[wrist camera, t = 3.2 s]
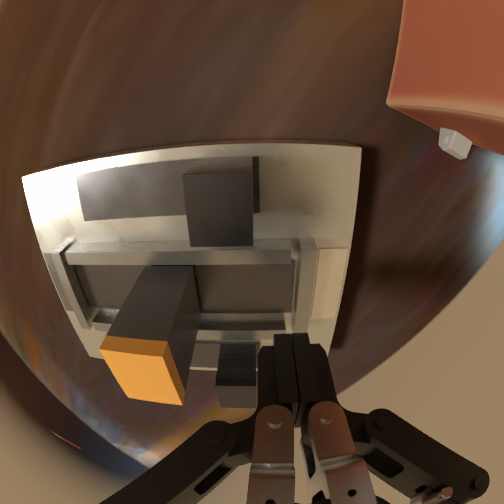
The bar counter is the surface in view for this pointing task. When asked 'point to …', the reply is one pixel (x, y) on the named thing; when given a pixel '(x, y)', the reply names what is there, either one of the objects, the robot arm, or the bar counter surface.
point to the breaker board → (287, 206)
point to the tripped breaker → (155, 335)
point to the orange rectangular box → (452, 71)
